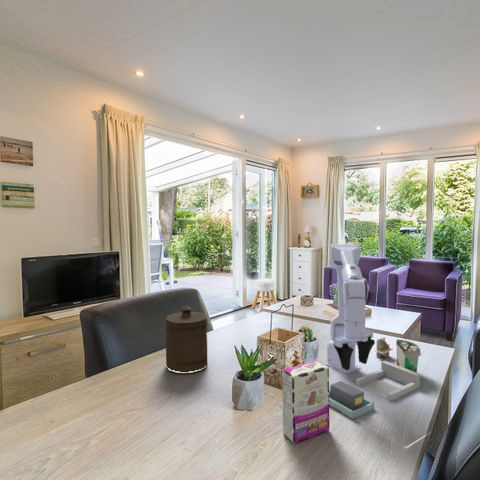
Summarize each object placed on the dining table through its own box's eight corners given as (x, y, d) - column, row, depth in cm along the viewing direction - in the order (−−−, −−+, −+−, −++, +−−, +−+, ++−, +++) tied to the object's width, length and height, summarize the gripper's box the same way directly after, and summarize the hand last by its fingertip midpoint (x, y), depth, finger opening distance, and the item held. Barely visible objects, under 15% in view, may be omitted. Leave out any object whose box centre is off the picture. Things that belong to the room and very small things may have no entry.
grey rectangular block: (330, 400, 100) (330, 384, 100) (340, 395, 102) (340, 380, 102) (353, 412, 93) (353, 396, 93) (363, 407, 96) (364, 391, 95)
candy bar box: (316, 421, 90) (317, 359, 89) (330, 431, 86) (330, 366, 85) (281, 433, 85) (281, 368, 84) (293, 445, 81) (293, 376, 80)
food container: (425, 383, 110) (426, 353, 110) (404, 381, 112) (405, 351, 111) (414, 367, 122) (414, 339, 122) (395, 366, 124) (396, 338, 123)
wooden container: (212, 359, 131) (211, 302, 130) (200, 376, 117) (199, 312, 116) (175, 356, 134) (174, 300, 133) (159, 373, 119) (158, 310, 118)
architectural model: (392, 358, 132) (393, 339, 132) (382, 362, 128) (383, 343, 127) (384, 355, 135) (384, 336, 134) (374, 359, 131) (374, 340, 130)
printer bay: (355, 385, 110) (356, 371, 109) (384, 373, 118) (384, 360, 118) (390, 401, 99) (391, 386, 99) (419, 387, 108) (420, 373, 107)
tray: (319, 399, 101) (319, 393, 101) (339, 391, 105) (339, 385, 105) (353, 419, 91) (353, 412, 90) (374, 409, 95) (374, 403, 95)
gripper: (349, 328, 93) (348, 377, 94) (382, 319, 101) (381, 364, 102) (329, 321, 99) (329, 367, 100) (362, 313, 107) (361, 356, 108)
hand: (354, 365), depth 101 cm, fingers open, 7 cm apart
